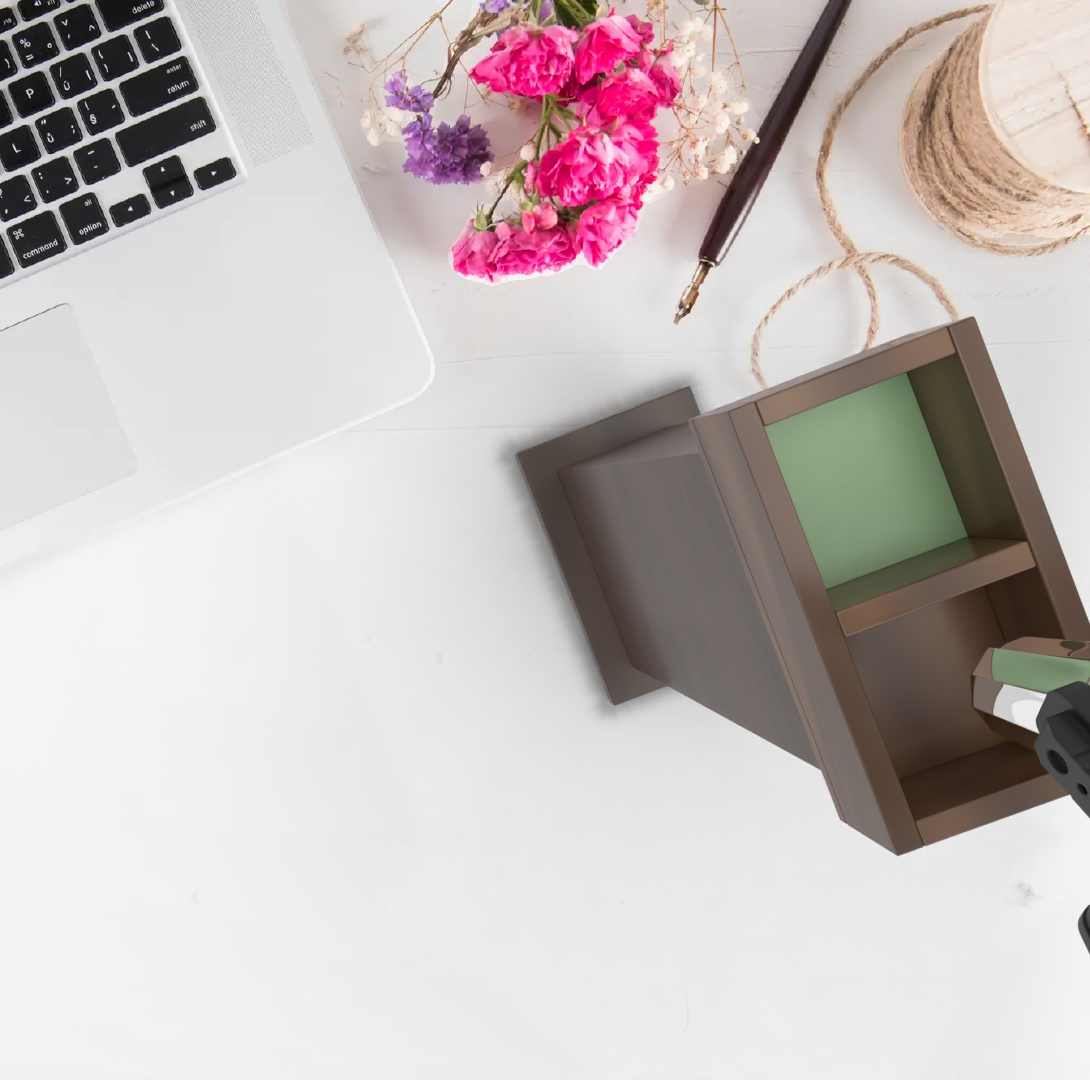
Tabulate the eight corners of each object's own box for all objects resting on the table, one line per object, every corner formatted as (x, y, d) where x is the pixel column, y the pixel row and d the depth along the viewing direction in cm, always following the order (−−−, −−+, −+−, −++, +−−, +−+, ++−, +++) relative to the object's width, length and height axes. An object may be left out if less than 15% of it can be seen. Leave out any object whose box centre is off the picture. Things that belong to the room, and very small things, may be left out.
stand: (684, 387, 67) (940, 307, 39) (781, 639, 67) (1103, 738, 39) (513, 453, 68) (645, 422, 40) (610, 703, 68) (807, 845, 40)
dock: (907, 334, 39) (975, 314, 35) (1060, 740, 40) (1145, 768, 35) (686, 420, 40) (727, 411, 36) (839, 820, 40) (897, 856, 36)
